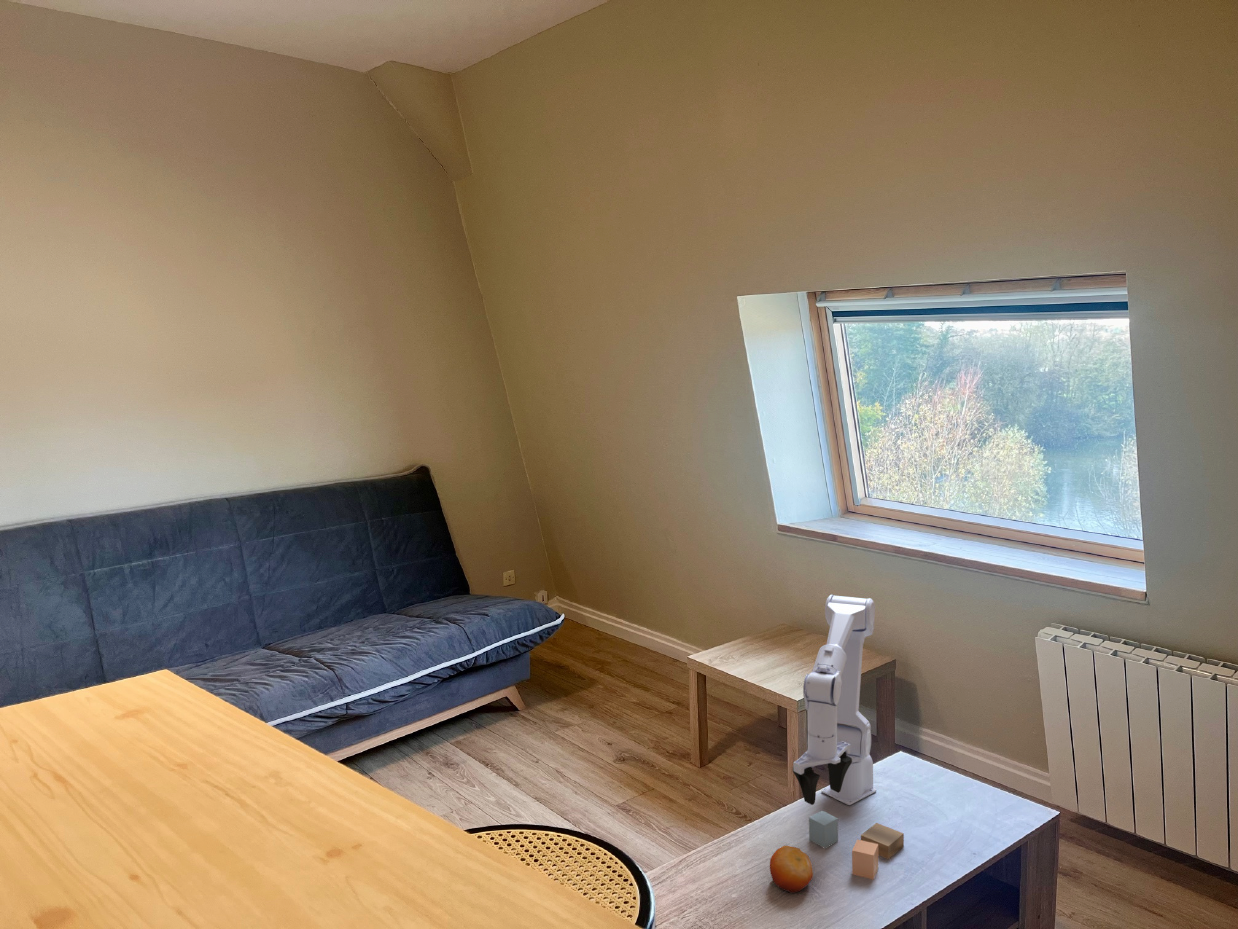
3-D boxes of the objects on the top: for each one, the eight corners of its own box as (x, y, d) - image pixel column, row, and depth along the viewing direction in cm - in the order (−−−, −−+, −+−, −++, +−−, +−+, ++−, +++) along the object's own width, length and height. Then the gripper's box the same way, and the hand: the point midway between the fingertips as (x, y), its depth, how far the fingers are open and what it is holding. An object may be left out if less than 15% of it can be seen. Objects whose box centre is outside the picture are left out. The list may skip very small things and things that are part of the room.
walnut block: (876, 836, 186) (876, 822, 186) (903, 847, 182) (903, 833, 181) (860, 849, 182) (860, 835, 182) (888, 860, 178) (888, 846, 177)
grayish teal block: (822, 833, 188) (822, 810, 187) (837, 841, 185) (837, 818, 184) (809, 840, 185) (809, 817, 185) (824, 848, 182) (824, 825, 181)
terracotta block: (857, 863, 177) (857, 839, 176) (878, 868, 175) (878, 844, 174) (852, 874, 173) (852, 850, 173) (873, 880, 172) (873, 855, 171)
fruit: (774, 857, 177) (792, 832, 174) (806, 889, 174) (825, 864, 170) (752, 878, 171) (770, 851, 168) (784, 911, 168) (804, 885, 164)
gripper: (812, 749, 174) (812, 816, 176) (862, 728, 183) (862, 792, 184) (785, 737, 180) (785, 802, 182) (835, 717, 188) (835, 779, 190)
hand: (822, 796), depth 184 cm, fingers open, 7 cm apart
